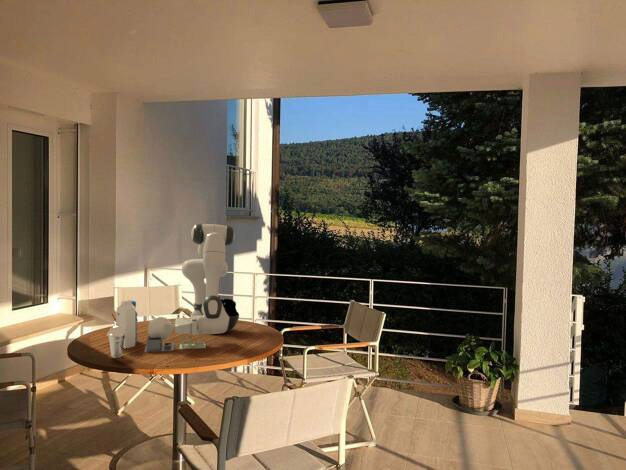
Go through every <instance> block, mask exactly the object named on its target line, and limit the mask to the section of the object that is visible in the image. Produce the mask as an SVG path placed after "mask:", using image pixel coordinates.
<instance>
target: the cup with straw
mask: <svg viewBox="0 0 626 470" xmlns="http://www.w3.org/2000/svg"><path fill="white" fill-rule="evenodd" d="M118 315H119V313H117V312H116V314H115V325H112V326H111V327H110V328H109V330H108V332H107V333H106V336H107V337H108V341H109V347H110V355H111V358H115V359H117V357H118V358H122V357H123V351H124V349H123V345H124V340H125V335H127V332H126V331H125V329H124V328H123V327H122V326H120V325H118ZM121 356H122V357H121Z"/></svg>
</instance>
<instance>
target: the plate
mask: <svg viewBox="0 0 626 470" xmlns="http://www.w3.org/2000/svg"><path fill="white" fill-rule="evenodd" d="M171 322H172V321H170V319H168V318H167V317H164V316H156V317H154V318H152V320H150V321H149V323H148V325H147V334H148V335H149V336H150V337H151V338H157V337H161V341H165V340H167V339H169V337H170V336H171V335H172V331H173V329H165V325H166V324H169V325H172V324H171Z"/></svg>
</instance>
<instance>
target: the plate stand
mask: <svg viewBox="0 0 626 470" xmlns="http://www.w3.org/2000/svg"><path fill="white" fill-rule="evenodd" d="M191 338H192V337H191V336H188V340H187V341H188V343H186V344H185V336H181V343H180V344H179V350H185V349H186V350H187V349H188V350H189V349H191V350H192V349H206V347H207V346H206V343H204V341H194V343H191V341H192V340H191Z"/></svg>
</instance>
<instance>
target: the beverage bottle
mask: <svg viewBox="0 0 626 470" xmlns="http://www.w3.org/2000/svg"><path fill="white" fill-rule="evenodd" d="M131 303H132V304H133V305H134V306H135V343H136V342H137V341H138V322H139V321H138V318H137V317H138V312H137V310H136V307H137V302H136V300H131Z"/></svg>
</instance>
